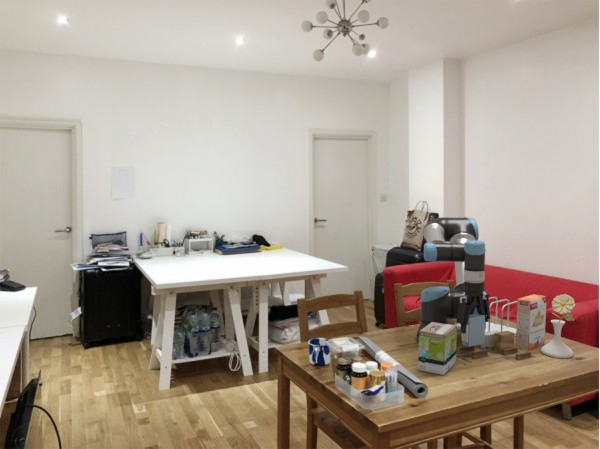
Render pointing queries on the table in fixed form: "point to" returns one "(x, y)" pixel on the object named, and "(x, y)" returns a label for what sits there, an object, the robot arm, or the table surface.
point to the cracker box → (531, 321)
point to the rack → (509, 353)
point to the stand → (471, 353)
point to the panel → (475, 330)
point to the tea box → (437, 348)
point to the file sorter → (494, 325)
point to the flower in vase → (556, 345)
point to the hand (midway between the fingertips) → (473, 339)
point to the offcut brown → (503, 341)
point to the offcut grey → (488, 339)
